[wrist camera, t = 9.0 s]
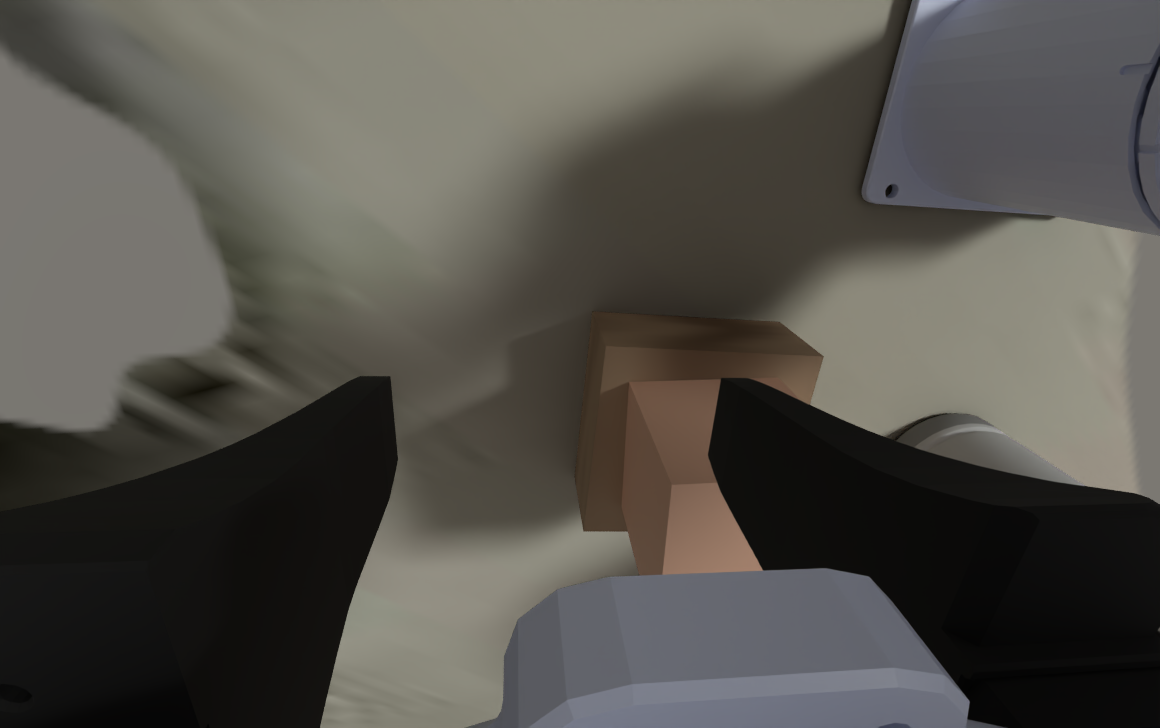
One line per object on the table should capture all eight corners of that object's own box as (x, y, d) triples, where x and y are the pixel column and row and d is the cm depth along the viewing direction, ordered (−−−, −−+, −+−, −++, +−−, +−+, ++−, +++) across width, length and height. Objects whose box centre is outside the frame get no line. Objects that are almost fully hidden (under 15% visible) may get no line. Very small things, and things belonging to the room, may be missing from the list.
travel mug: (979, 512, 29) (1750, 1175, 11) (860, 520, 28) (1467, 1238, 10) (1019, 407, 26) (2113, 1044, 8) (889, 413, 26) (1765, 1116, 8)
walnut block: (776, 319, 24) (823, 356, 20) (737, 475, 27) (772, 531, 23) (591, 309, 23) (606, 346, 19) (573, 472, 26) (583, 531, 22)
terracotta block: (778, 377, 20) (874, 475, 15) (755, 499, 22) (832, 623, 17) (629, 381, 20) (671, 484, 14) (621, 507, 22) (655, 637, 16)
